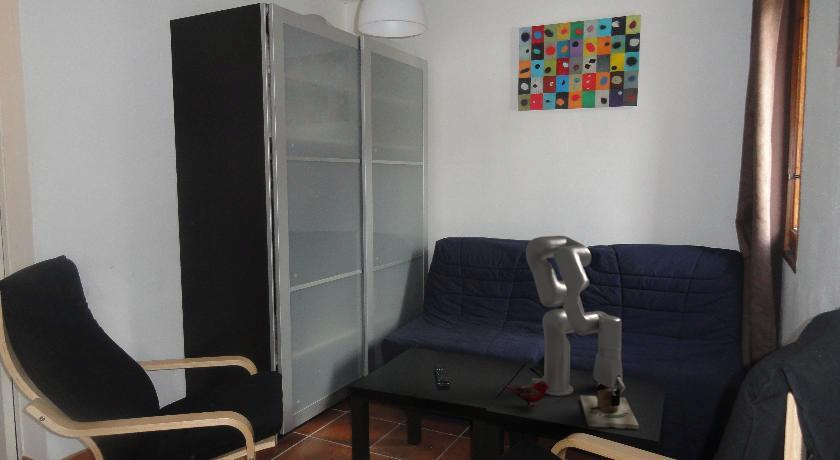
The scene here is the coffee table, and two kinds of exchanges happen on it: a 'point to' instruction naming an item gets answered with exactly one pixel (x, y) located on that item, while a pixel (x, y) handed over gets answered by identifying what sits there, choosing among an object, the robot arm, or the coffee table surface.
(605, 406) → the knob
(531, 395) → the decorative bird figurine
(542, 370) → the phone
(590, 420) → the dial board
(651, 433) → the coffee table surface
